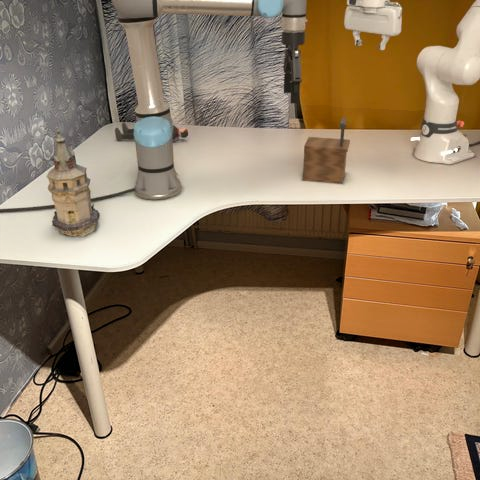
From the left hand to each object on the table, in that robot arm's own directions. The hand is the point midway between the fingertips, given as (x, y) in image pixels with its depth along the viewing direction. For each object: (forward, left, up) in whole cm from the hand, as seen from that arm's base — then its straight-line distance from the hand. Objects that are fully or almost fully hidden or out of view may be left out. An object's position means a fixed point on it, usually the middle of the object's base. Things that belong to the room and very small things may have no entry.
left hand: (291, 97), depth 181 cm
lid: (+11, -9, -14) cm, 20 cm away
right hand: (+24, -5, +16) cm, 29 cm away
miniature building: (-68, -38, -26) cm, 82 cm away
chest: (+11, -9, -26) cm, 29 cm away
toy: (-50, +39, -26) cm, 69 cm away
